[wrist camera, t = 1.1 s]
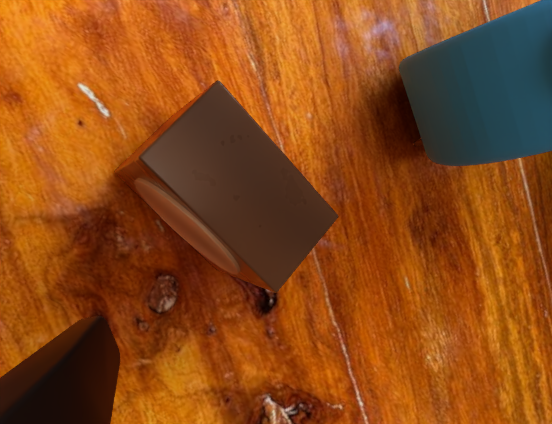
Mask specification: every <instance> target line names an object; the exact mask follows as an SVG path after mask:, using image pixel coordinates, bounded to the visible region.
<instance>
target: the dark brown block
mask: <svg viewBox="0 0 552 424" xmlns="http://www.w3.org/2000/svg"><path fill="white" fill-rule="evenodd" d="M114 172H115V174H116V175H117V176H118V177H120V178H121V179H122V180H123V181H124V182H125V183H126V184H127V185H128V186H129V187H130V188H131V189H132V190H133V191H134V192H135V193H136V194H137V195H138V196H140V197H141V198H142V199H143V200H144V201H145V202H146V203H147V204H148V205H149V206H150V207H151V208H152V209H153V210H154V211H155V212H156V213H157V214H158V215H159V216H160V217H161V218H162V219H163V220H164V221H165V222H166V223H167V224H168V225H169V226H170V227H171V228H172V229H173V230H174V231H175V232H177V233H178V234H179V235H180V236H181V237H182V238H183V239H184V240H186V241H187V242H188V243H189V244H190V245H191V246H192V247H193V248H194V249H195V250H196V251H197V252H199V253H200V254H201V255H202V256H203V257H204V258H205V259H206V260H207V261H208V262H209V263H210V264H211V265H212V266H213V267H214V268H215V269H216V270H218V271H221V272H223V273H226V274H229V275H231V276H234V277H236V278H239V279H242V280H244V281H247V282H249V283H252V284H255V285H257V286H260V287H262V288H265V289H267V290H270V291H273V292H275V293H276V292H278V291H279V289H280V288H281V287H282V286H283V284H284V283H285V282H286V281H287V279H288V278H289V277H290V276H291V275H292V273H293V272H294V271H295V270H296V268H297V267H298V266H299V265H300V264H301V262H302V261H303V260H304V259H305V257H306V256H307V255H308V254H309V252H310V251H311V250H312V249H313V248H314V246H315V245H316V244H317V243H318V241H319V240H320V239H321V238H322V237H323V235H324V234H325V233H326V232H327V230H328V229H329V228H330V227H331V226H332V224H333V223H334V222H335V221H336V219H337V218H338V215H337V214H336V213H335V211H334V210H333V209H332V208H331V207H330V206H329V205H328V203H327V202H326V201H325V200H324V199H323V198H322V197H321V195H320V194H319V193H318V192H317V191H316V190H315V189H314V188H313V186H312V185H311V184H310V183H309V182H308V181H307V180H306V178H305V177H304V176H303V175H302V174H301V173H300V172H299V171H298V169H297V168H296V167H295V166H294V165H293V164H292V163H291V161H290V160H289V159H288V158H287V157H286V156H285V155H284V154H283V152H282V151H281V150H280V149H279V148H278V147H277V146H276V144H275V143H274V142H273V141H272V140H271V139H270V138H269V136H268V135H267V134H266V133H265V132H264V131H263V130H262V129H261V127H260V126H259V125H258V124H257V123H256V122H255V121H254V119H253V118H252V117H251V116H250V115H249V114H248V113H247V112H246V110H245V109H244V108H243V107H242V106H241V105H240V104H239V102H238V101H237V100H236V99H235V98H234V97H233V96H232V95H231V93H230V92H229V91H228V90H227V89H226V88H225V87H224V85H223V84H222V83H221V82H220V81H216V82H215V83H213V84H212V85H211V86H209V87H208V88H207V89H206V90H204V91H203V92H202V93H200V94H199V95H198V96H197V97H195V98H194V99H193V100H191V101H190V102H189V103H188V104H186V105H185V106H184V107H183V108H181V109H180V110H179V111H177V112H176V113H175V114H174V115H172V116H171V117H170V118H169V119H168V120H167V121H166V122H165V123H164V124H163V125H162V126H161V127H160V128H159V129H158V130H157V131H156V132H154V133H153V134H152V135H151V136H150V137H149V138H148V139H147V140H146V141H145V142H144V143H143V144H142V145H141V146H140V147H139V148H138V149H137V150H136V151H135V152H134V153H132V154H131V155H130V156H129V157H128V158H127V159H126V160H125V161H124V162H123V163H122V164H121V165H120V166H119V167H118V168H117V169H116V170H115V171H114Z"/></svg>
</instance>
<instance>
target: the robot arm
mask: <svg viewBox="0 0 552 424" xmlns="http://www.w3.org/2000/svg"><path fill="white" fill-rule="evenodd" d="M119 366H120V352H119V348H118V346H117V344H116V341H115V339H114V337H113V334H112V332H111V329H110V327H109V325H108V323H107V321H106V319H105V318H104V317H102V316H95V317H89V318H84V319H81V320H79V321H77V322H76V323H75V324H73V325H72V326H70V327H69V328H68V329H66V330H65V331H64V332H62V333H61V334H60V335H58V336H57V337H55V338H54V339H53V340H51V341H50V342H49V343H47V344H46V345H45V346H43V347H42V348H40V349H39V350H38V351H36V352H35V353H34V354H32V355H31V356H30V357H28V358H27V359H25V360H24V361H23V362H21V363H20V364H19V365H17V366H16V367H15V368H13V369H12V370H10V371H9V372H8V373H6V374H5V375H4V376H2V377H1V378H0V424H110V422H111V416H112V410H113V403H114V397H115V391H116V385H117V379H118V372H119Z"/></svg>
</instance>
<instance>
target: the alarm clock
mask: <svg viewBox="0 0 552 424" xmlns="http://www.w3.org/2000/svg"><path fill="white" fill-rule="evenodd" d="M399 71H400V75H401V78H402V81H403V84H404V87H405V90H406V93H407V96H408V99H409V102H410V105H411V108H412V112H413V115H414V118H415V121H416V124H417V127H418V130H419V133H420V136H421V139H419V140H417V141H415V142H413V144H414V146H418V145H424V149H425V152H426V154H427V156H428V158H429V159H430V160H432V161H433V162H435V163H437V164H442V165H448V166H467V165H478V164H487V163H493V162H500V161H506V160H511V159H517V158H522V157H527V156H531V155H536V154H540V153H545V152H549V151H552V0H541V1H538V2H536V3H533V4H531V5H529V6H526V7H524V8H521V9H519V10H516V11H514V12H511V13H509V14H507V15H504V16H502V17H499V18H497V19H495V20H492V21H490V22H487V23H485V24H483V25H480V26H478V27H475V28H473V29H471V30H468V31H466V32H463V33H461V34H459V35H456V36H454V37H452V38H449V39H447V40H445V41H442V42H440V43H438V44H435V45H433V46H431V47H428V48H426V49H424V50H422V51H419V52H417V53H415V54H413V55H411V56H409V57H407V58H405V59H403V60H402V61H401V62H400V65H399Z"/></svg>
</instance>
